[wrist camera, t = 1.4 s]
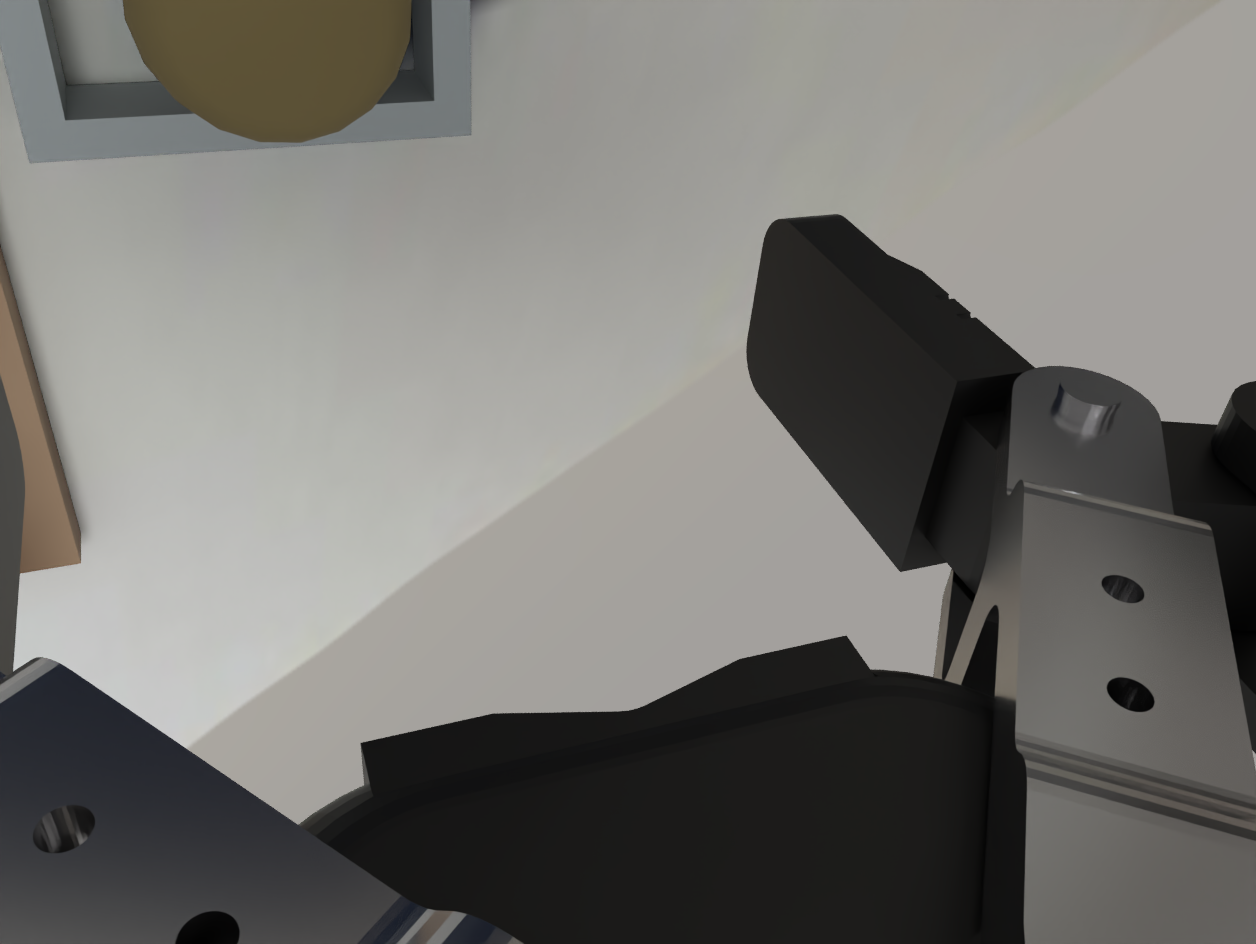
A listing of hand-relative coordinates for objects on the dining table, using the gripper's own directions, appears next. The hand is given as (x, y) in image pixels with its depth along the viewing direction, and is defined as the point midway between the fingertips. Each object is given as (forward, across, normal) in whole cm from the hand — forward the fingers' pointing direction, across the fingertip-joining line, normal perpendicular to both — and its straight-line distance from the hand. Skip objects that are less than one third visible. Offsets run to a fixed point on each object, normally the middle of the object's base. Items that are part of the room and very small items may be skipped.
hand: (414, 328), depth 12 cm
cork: (+22, 0, 0) cm, 22 cm away
